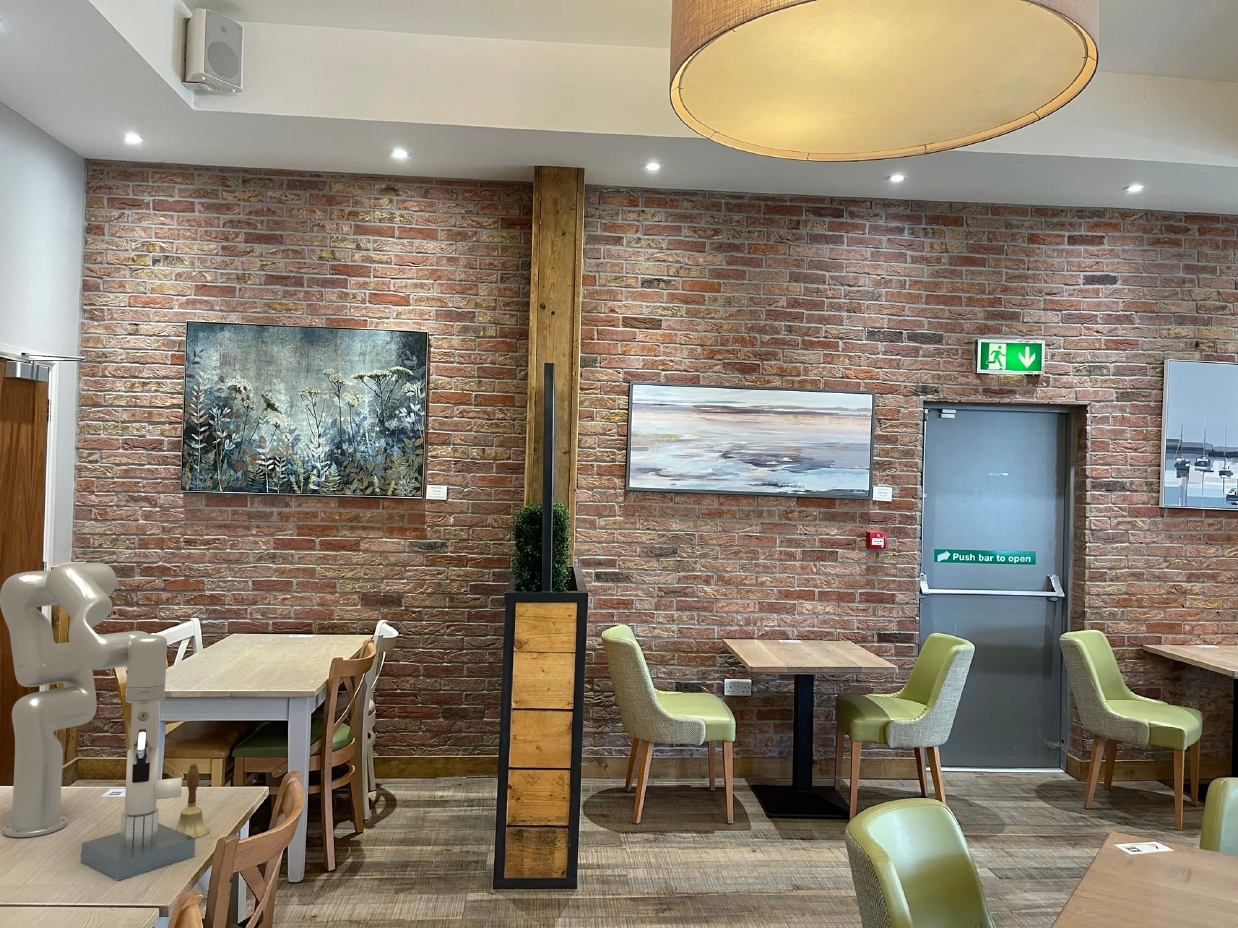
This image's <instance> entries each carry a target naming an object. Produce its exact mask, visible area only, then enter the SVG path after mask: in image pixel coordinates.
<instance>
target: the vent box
mask: <svg viewBox="0 0 1238 928" xmlns="http://www.w3.org/2000/svg"><path fill="white" fill-rule="evenodd" d="M120 818H121V819H120V832H116V833H112V834H109V835H106V836H102V837H98V838H94V839H92V840H91V839H90V840H87V841H85V842H81V847H80V848H81V851H80V863H81V862H82V864H83V863H84V865H85V866H87V865H88V867H89V866H90V868H91V869H93V868H94V870H95V871H97V870H98V872H99V871H100V872H99V873H101V872H102V873H101V874H103V873H104V875H105V876H107V877H109V876H110V877H109V878H112V879H113V878H114V880H115V879H117V880H118V882H119V880H120V881H123V880H125V878H126V879H129V878H132V877H134V876H135V877H136V876H138V875H142V874H145V873H148V872H151V871H154V870H157V869H160V868H163V867H167V866H169V865H173V864H177V863H178V862H182V861H185V860H188V859H191V858H195V850H196V849H195V848H196V847H195V846H196V838H194V837H192V836H189V835H187V834H184V833H182V832H179V831H177V830H174V829H175V828H172V827H169V826H167V825H165V824H162V823H160V822H159V807H156V809H155V810H154V811H152V812H150V814H146V815H141V816H131V815H128V814H125V810H124V811H122V812H121V817H120ZM131 876H132V877H131ZM122 879H123V880H122ZM117 880H116V881H117Z"/></svg>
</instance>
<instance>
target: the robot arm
mask: <svg viewBox="0 0 1238 928" xmlns="http://www.w3.org/2000/svg"><path fill="white" fill-rule="evenodd" d="M117 581H118V580H117V575H116V573H115V571H114V570H113V568H112V567H111V566H110V565H108V564H106V563H103V562H79V563H76V562H75V563H66V564H65V563H64V564H61V565H58V566H56V567H54V568H53V569H51V570H33V571H25V572H20V573H15V574H13V575H11V576H9V577H8V578H7V579H6V580H4V583H3V584H2V586H1V589H0V610H1V613H2V616H3V618H4V621H5V623H6V626H7V628H8V631H9V636H10V638H9V639H10V645H11V647H10V648H11V653H12V661H13V668H14V669H13V670H14V675H15V679H16V681H17V684H18V685H20V686H22V687H25V688H30V687H31V688H33V687H41V686H42V687H43V686H49V685H55V684H61V683H62V684H63V686H64V687H61V688H54V689H48V690H42V691H37V692H33V693H30V694H26V695H24V696H22V697H20V698H19V699H18V700H17V701H15V703H14V705H13V707H12V711H11V720H12V726H13V727H12V728H13V733H14V768H13V769H14V770H13V773H14V774H13V788H12V789H13V790H12V791H13V792H12V808H11V821H10V822H8V823H7V824H5V825H4V826H3V828H2V833H3V835H4V836H6V837H10V838H30V837H38V836H44V835H47V834H51V833H54V832H57V831H59V830H62V829H63V828H65V827H66V826H67V825H68V817H67V816H65V815H62V814H61V800H62V785H63V784H62V783H63V781H62V780H63V766H64V765H63V763H64V762H63V761H64V758H63V757H64V749H63V746H62V742H60V740H58V738H57V737H56V736H55V734H54V732H55V731H58V730H62V729H68V728H73V727H77V726H81V725H85V724H87V723H89V722H91V720H93V718H94V716H95V714H96V712H97V708H98V707H97V705H98V704H97V703H98V702H97V694H96V686H95V681H94V680H95V678H94V671H103V670H104V671H105V670H109V669H116V668H126V685H125V686H126V687H125V703H127V704H131V707H130V708H131V710H130V712H131V713H130V746H131V747H130V748H131V749H133V750H135V754H134V763H133V771H132V782H133V783H139V782H148V781H149V772H150V762H149V750H150V748H149V747H153V749H154V748H156V747H157V746H158V744H159V743H158V742H159V736H160V735H159V734H160V733H159V731H160V730H159V729H160V702H161V701H163V700H165V698H166V679H167V678H166V675H167V654H168V641H167V640H168V639H167V638H166V637H165V636H163V635H160V634H149V633H148V632H146V631H143V630H131V631H125V632H123V631H122V632H114V633H106V634H98V633H96V631H94V629H93V628H94V627H96V626H97V625H99V624H101V623H102V622H103V621H105V619H107V618H108V616H109V615H110V613H112V612H111V611H112V609H113V602H112V600H111V598H110V597H109V596H110V595H111V594H112V593H113V592H114V591H115V589H116V587H117ZM49 606H50V607H52V606H61V608H62V609H63V610H64V611H65V613H66V614H67V615H68V617H69V618H70V619H71V621H70V624H69V627H68V634H67V635H68V641H67V642H59V643H58V642H57V643H56V642H55V639H54V632H53V627H52V624H51V621H50V620H49V619H48V617H47V616H45V614H44V613H43V612H42V611H40V610H39V609H37V608H38V607H49ZM146 745H148V746H147V747H146V748H145V746H146ZM137 746H138V748H137ZM145 751H146V752H145Z"/></svg>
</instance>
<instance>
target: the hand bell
mask: <svg viewBox="0 0 1238 928" xmlns="http://www.w3.org/2000/svg"><path fill="white" fill-rule="evenodd" d="M199 782H200V772H199V769H198V765H197V763H191V764H190V766H189V769H188V771H187V775H186V785H187V791H188V797H187V799H188V800H187V807H185V808H183V809H182V810H181V811H180V815H179V820H178V823H177V825H176V826H175V828H173V829H174V830H177V831H179V832H182V833H184V834H187V835H189V836H192V837H194V838H195V839H199V838H203V837H205V836H207V835H209V833H210V832H211V830H210V828H209V826H208V825H206V824H205V821H204V818H203V810H202V808H201V807H198V806H197V789H198V786H199Z"/></svg>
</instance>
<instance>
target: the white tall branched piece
mask: <svg viewBox="0 0 1238 928" xmlns="http://www.w3.org/2000/svg"><path fill="white" fill-rule="evenodd" d="M147 746H148V745H146V746H145V748H146V747H147ZM137 748H138V746H137ZM149 748H150V750H149V762H150V772H149V781H148V782H139V783H133V782H132V771H133V763H134V754H135V750H133V749H131V747H130V748H129V749H127V757H126V775H125V776H126V778H125V793H124V794H125V796H124V797H125V798H124V811H125V814H128V815H131V816H141V815H146V814H150V812H152V811H154V810H155V809H156V808H157V800H163V799H164V800H165V799H175V798H181V797H182V787H183V786H182V783H183V777H174V778H166V779H158V778H159V777H158V775H159V753H160V747H159V746H158V745H157V747H156V748H154V749H153V747H149ZM145 752H146V751H145Z"/></svg>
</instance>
